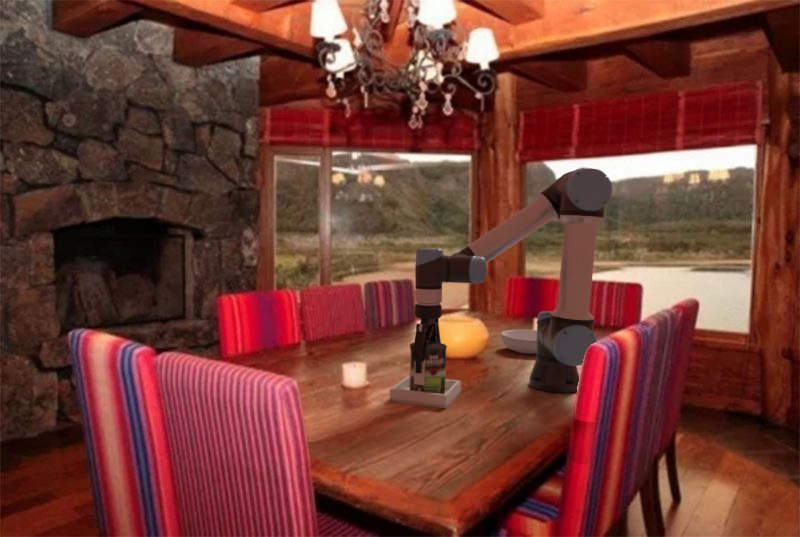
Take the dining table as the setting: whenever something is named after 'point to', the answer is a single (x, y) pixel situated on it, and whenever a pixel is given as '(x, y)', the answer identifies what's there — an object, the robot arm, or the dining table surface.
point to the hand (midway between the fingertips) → (426, 378)
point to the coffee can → (431, 369)
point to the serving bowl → (520, 340)
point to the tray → (425, 394)
